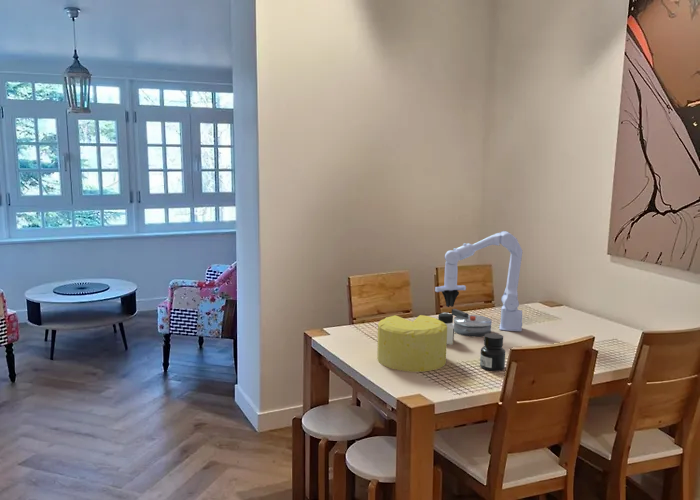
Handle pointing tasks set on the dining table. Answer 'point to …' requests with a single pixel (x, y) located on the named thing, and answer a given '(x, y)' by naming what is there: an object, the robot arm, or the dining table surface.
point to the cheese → (412, 343)
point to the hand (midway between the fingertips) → (449, 306)
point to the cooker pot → (471, 330)
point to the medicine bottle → (448, 326)
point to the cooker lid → (470, 319)
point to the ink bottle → (492, 352)
